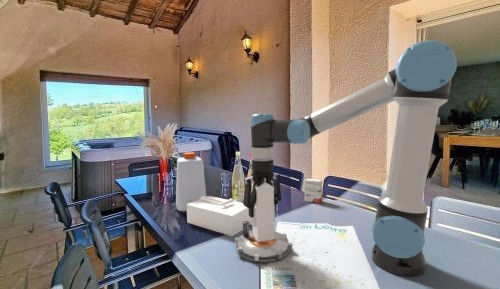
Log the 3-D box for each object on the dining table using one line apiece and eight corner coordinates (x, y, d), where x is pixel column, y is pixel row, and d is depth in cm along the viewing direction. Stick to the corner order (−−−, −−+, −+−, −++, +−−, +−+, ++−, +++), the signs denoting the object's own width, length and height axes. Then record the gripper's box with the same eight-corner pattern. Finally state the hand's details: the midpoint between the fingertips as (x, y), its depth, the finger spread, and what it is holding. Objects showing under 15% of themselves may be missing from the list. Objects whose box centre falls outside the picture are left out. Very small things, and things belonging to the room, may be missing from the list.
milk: (257, 242, 94) (256, 179, 91) (252, 234, 99) (251, 175, 97) (274, 239, 95) (273, 177, 93) (268, 232, 101) (267, 173, 98)
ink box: (322, 201, 148) (323, 179, 146) (319, 203, 144) (320, 181, 142) (307, 198, 152) (307, 177, 151) (304, 201, 148) (304, 179, 147)
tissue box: (232, 236, 108) (231, 210, 106) (187, 223, 122) (186, 199, 120) (252, 224, 120) (252, 199, 118) (209, 212, 133) (208, 191, 132)
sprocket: (300, 242, 100) (300, 224, 99) (271, 267, 84) (271, 246, 83) (256, 229, 111) (256, 213, 110) (224, 248, 96) (223, 230, 95)
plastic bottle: (203, 200, 152) (202, 150, 148) (208, 209, 137) (206, 154, 134) (175, 203, 147) (173, 151, 143) (177, 213, 133) (174, 156, 129)
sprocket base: (301, 253, 94) (301, 250, 94) (253, 269, 85) (253, 267, 85) (270, 232, 111) (270, 230, 111) (227, 244, 101) (227, 242, 101)
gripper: (279, 154, 102) (279, 214, 105) (231, 160, 92) (233, 225, 95) (292, 157, 96) (291, 220, 98) (242, 163, 86) (243, 233, 89)
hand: (262, 223), depth 97 cm, fingers open, 7 cm apart
